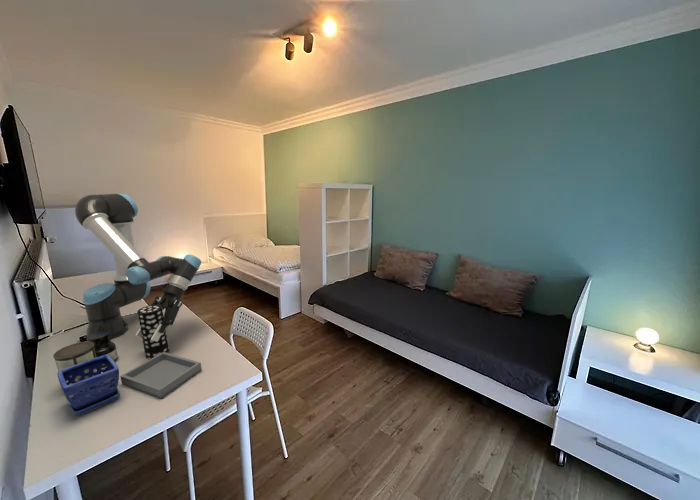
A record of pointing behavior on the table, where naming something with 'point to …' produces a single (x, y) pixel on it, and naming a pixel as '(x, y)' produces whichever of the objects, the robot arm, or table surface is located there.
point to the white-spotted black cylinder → (152, 330)
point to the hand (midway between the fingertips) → (146, 338)
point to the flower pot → (90, 384)
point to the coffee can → (75, 356)
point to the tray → (161, 374)
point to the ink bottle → (103, 345)
